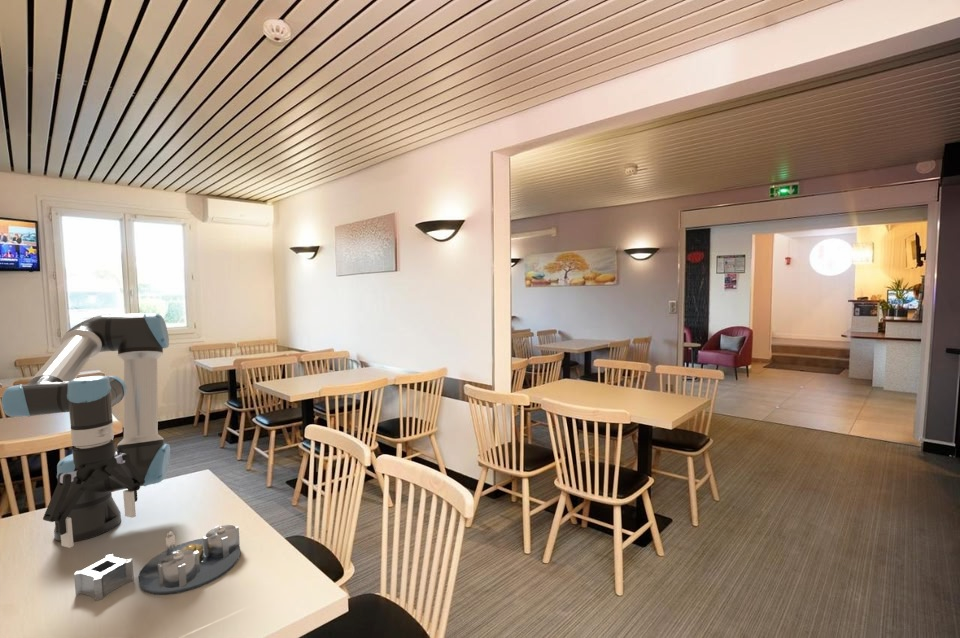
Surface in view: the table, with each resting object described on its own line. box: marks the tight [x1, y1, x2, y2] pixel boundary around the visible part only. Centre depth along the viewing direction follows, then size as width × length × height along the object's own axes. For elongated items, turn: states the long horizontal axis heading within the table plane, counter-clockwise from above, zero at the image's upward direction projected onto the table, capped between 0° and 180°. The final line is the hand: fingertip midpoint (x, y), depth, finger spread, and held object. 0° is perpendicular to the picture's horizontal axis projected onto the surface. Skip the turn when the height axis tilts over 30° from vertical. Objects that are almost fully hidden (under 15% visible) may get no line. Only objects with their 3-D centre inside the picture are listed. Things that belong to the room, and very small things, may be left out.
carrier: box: [138, 524, 241, 596], centre depth 117 cm, size 22×22×8 cm
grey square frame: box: [73, 553, 135, 602], centre depth 109 cm, size 9×9×5 cm
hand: (100, 530), depth 108 cm, fingers open, 13 cm apart
